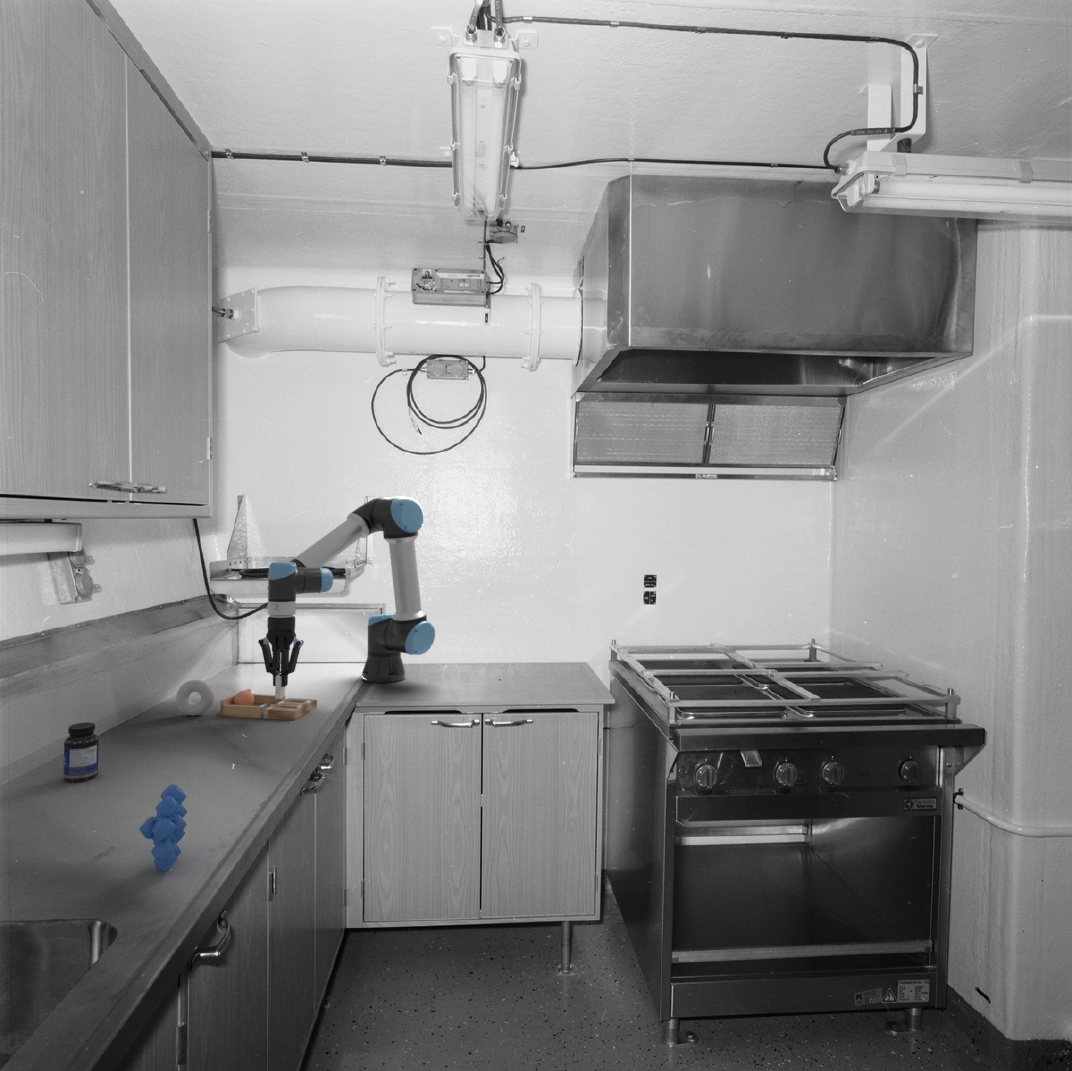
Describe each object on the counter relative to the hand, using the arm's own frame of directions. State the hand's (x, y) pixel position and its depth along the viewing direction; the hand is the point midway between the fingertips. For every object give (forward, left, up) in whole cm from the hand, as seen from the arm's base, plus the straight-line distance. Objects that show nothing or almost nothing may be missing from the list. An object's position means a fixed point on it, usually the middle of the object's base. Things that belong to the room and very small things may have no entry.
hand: (279, 697), depth 200 cm
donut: (+8, -21, -4) cm, 23 cm away
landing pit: (0, -7, -4) cm, 9 cm away
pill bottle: (+57, -14, -4) cm, 59 cm away
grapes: (+88, +27, -4) cm, 92 cm away
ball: (+1, -10, -1) cm, 10 cm away
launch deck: (0, +4, -4) cm, 5 cm away
